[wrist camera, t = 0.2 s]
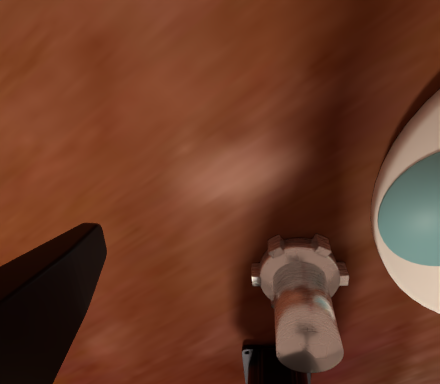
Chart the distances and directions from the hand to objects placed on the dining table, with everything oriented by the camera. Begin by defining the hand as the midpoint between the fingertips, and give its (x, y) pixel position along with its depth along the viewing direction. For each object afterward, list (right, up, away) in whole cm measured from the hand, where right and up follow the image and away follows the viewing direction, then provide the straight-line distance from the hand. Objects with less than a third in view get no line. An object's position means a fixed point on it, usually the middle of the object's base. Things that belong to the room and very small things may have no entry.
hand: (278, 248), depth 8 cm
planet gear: (+5, -5, +19) cm, 20 cm away
